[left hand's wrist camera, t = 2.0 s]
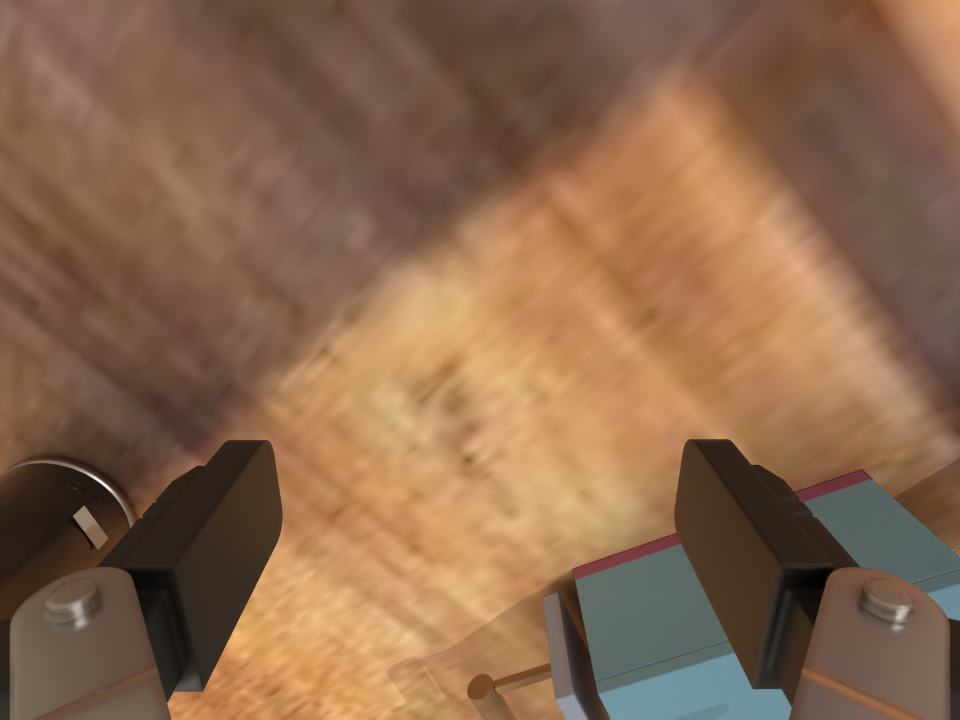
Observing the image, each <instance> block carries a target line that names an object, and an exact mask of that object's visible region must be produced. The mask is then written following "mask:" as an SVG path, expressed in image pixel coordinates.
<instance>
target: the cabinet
mask: <svg viewBox="0 0 960 720" xmlns="http://www.w3.org/2000/svg"><path fill="white" fill-rule="evenodd" d="M795 494H796V495H797V496H798V497H799V498H800V499H799V500H800V502H803V503H804V504H805V505H806V506H807V507H808V508H809V509H810V511H811V512H812V513H813V517H817V518H818V520H819V521H820V522H821V523H822V524H823V525H824V526H825V527H826V529H827V530H828V531H829V532H830V533H831V534H832V535H833V537H834V538H835V539H836V540H837V541H838V542H839V543H840V544H841V546H842V547H843V548H844V549H845V550H846V551H847V552H848V554H849V555H850V556H851V557H852V558H853V559H854V560H855V561H856V563H857V564H858V565H859V566H860V567H863V568H870V569H874V570H879V571H882V572H885V573H889V574H891V575H894V576H896V577H899V578H901V579H903V580H905V581H907V582H909V583H911V584H912V585H914V586H916V587H917V588H919V589H920V590H922V591H923V592H925V593H926V594H927V595H929V596H930V597H931V598H932V599H933V600H934V601H935V602H936V603H937V604H938V605H939V606H940V607H941V608H942V610H943V611H944V612H945V614H946V616H947V618H950V619H954V620H959V621H960V557H959V556H958V555H957V554H955V553H954V552H953V551H952V550H951V549H950V548H949V547H948V546H946V545H945V544H944V543H943V542H942V541H941V540H940V539H939V538H938V537H936V536H935V535H934V534H933V533H932V532H931V531H930V530H929V529H927V528H926V527H925V526H924V525H923V524H922V523H921V522H920V521H919V520H917V519H916V518H915V517H914V516H913V515H912V514H911V513H910V512H908V511H907V510H906V509H905V508H904V507H903V506H902V505H901V504H899V503H898V502H897V501H896V500H895V499H894V498H893V497H892V496H891V495H889V494H888V493H887V492H886V491H885V490H884V489H883V488H882V487H880V486H879V485H878V484H877V483H876V482H875V481H874V480H873V478H871V477H870V476H869V475H868V474H867V473H866V472H865V471H864V470H859V471H856V472H853V473H850V474H848V475H845V476H842V477H839V478H836V479H833V480H830V481H827V482H824V483H821V484H818V485H816V486H813V487H810V488H807V489H804V490H801V491H798V492H795ZM573 574H574V579H575V582H576V587H577V592H578V597H579V602H580V607H581V612H582V617H583V622H584V627H585V631H586V636H587V641H588V646H589V651H590V656H591V661H592V666H593V671H594V676H595V681H596V686H597V691H598V695H599V697H600V699H601V701H602V703H603V704H604V706H605V708H606V710H607V712H608V714H609V716H610V718H611V720H789V716H790V712H791V709H792V707H791V705H790V704H789V702H788V700H787V698H786V696H785V694H784V693H783V691H782V689H752V687H751V685H750V683H749V681H748V679H747V677H746V675H745V673H744V671H743V669H742V667H741V665H740V663H739V661H738V658H737V656H736V654H735V652H734V650H733V648H732V646H731V644H730V642H729V640H728V638H727V636H726V634H725V632H724V630H723V628H722V626H721V624H720V622H719V620H718V618H717V616H716V614H715V612H714V610H713V608H712V606H711V604H710V602H709V600H708V598H707V596H706V594H705V592H704V590H703V588H702V586H701V583H700V581H699V579H698V577H697V575H696V573H695V571H694V569H693V567H692V565H691V563H690V561H689V559H688V557H687V555H686V553H685V551H684V549H683V547H682V545H681V543H680V541H679V538H678V535H677V533H676V534H673V535H670V536H668V537H665V538H662V539H659V540H656V541H653V542H650V543H647V544H644V545H641V546H638V547H636V548H633V549H630V550H627V551H624V552H621V553H618V554H615V555H612V556H609V557H607V558H604V559H601V560H598V561H595V562H592V563H589V564H586V565H583V566H580V567H578V568H575V569H573Z"/></svg>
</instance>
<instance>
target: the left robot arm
mask: <svg viewBox="0 0 960 720" xmlns="http://www.w3.org/2000/svg"><path fill="white" fill-rule="evenodd" d="M799 499H800V498H799V497H798V496H797V495H796V494H795V492H794V491H793V490H792V489H791V488H790V487H789V486H788V484H787V483H786V482H785V481H784V480H783V479H781V478H779V477H778V476H776V475H775V474H773V473H771V472H770V471H768V470H767V469H765V468H763V467H762V466H760V465H751V464H750V463H749V462H748V460H747V459H746V458H745V457H744V456H743V454H742V453H741V452H740V451H739V450H738V448H737V447H736V446H735V445H734V443H733V442H732V441H730V440H728V439H690V440H688V441H687V442H686V443H685V446H684V449H683V455H682V462H681V469H680V476H679V482H678V489H677V496H676V503H675V526H676V531H677V535H678V538H679V541H680V543H681V545H682V547H683V549H684V551H685V553H686V555H687V557H688V559H689V561H690V563H691V565H692V567H693V569H694V571H695V573H696V575H697V577H698V579H699V581H700V583H701V586H702V588H703V590H704V592H705V594H706V596H707V598H708V600H709V602H710V604H711V606H712V608H713V610H714V612H715V614H716V616H717V618H718V620H719V622H720V624H721V626H722V628H723V630H724V632H725V634H726V636H727V638H728V640H729V642H730V644H731V646H732V648H733V650H734V652H735V654H736V656H737V658H738V661H739V663H740V665H741V667H742V669H743V671H744V673H745V675H746V677H747V679H748V681H749V683H750V685H751V687H752V689H782V691H783V693H784V694H785V696H786V698H787V700H788V702H789V704H790V705H791V707H792V709H791V712H790V716H789V720H960V621H959V620H954V619H950V618H947V616H946V614H945V612H944V611H943V610H942V608H941V607H940V606H939V605H938V604H937V603H936V602H935V601H934V600H933V599H932V598H931V597H930V596H929V595H927V594H926V593H925V592H923V591H922V590H920V589H919V588H917V587H916V586H914V585H912V584H911V583H909V582H907V581H905V580H903V579H901V578H899V577H896V576H894V575H891V574H889V573H885V572H882V571H879V570H874V569H870V568H863V567H860V566H859V565H858V564H857V563H856V561H855V560H854V559H853V558H852V557H851V556H850V555H849V554H848V552H847V551H846V550H845V549H844V548H843V547H842V546H841V544H840V543H839V542H838V541H837V540H836V539H835V538H834V537H833V535H832V534H831V533H830V532H829V531H828V530H827V529H826V527H825V526H824V525H823V524H822V523H821V522H820V521H819V520H818V518H817V517H813V513H812V512H811V511H810V509H809V508H808V507H807V506H806V505H805V504H804V503H803V502H800V500H799ZM281 527H282V504H281V497H280V490H279V484H278V477H277V470H276V463H275V457H274V451H273V447H272V445H271V443H270V442H269V441H267V440H228V441H226V442H225V443H224V444H223V445H222V446H221V447H220V449H219V450H218V451H217V452H216V453H215V455H214V456H213V457H212V458H211V459H210V461H209V462H208V463H207V464H206V465H205V466H196V467H195V468H193V469H192V470H190V471H188V472H187V473H185V474H184V475H182V476H180V477H179V478H177V479H175V480H174V481H172V482H171V484H170V485H169V486H168V487H167V488H166V489H165V490H164V491H163V493H162V494H161V495H160V496H159V497H158V498H157V499H156V503H153V504H152V505H151V506H150V507H149V508H148V509H147V511H146V512H145V513H144V514H143V518H139V519H138V521H137V519H136V515H135V512H134V509H133V507H132V505H131V503H130V501H129V499H128V498H127V496H126V495H125V494H124V492H123V491H122V490H121V489H120V488H119V487H118V486H117V485H116V484H115V483H114V482H113V481H112V480H111V479H110V478H108V477H107V476H106V475H104V474H103V473H101V472H100V471H98V470H96V469H95V468H93V467H91V466H89V465H86V464H84V463H82V462H79V461H76V460H72V459H68V458H63V457H54V456H43V457H35V458H30V459H27V460H24V461H22V462H20V463H18V464H16V465H14V466H13V467H12V468H10V469H9V470H7V471H6V472H4V473H3V474H2V475H1V476H0V720H171V716H170V712H169V709H168V705H167V703H168V701H169V699H170V697H171V695H172V693H173V692H174V691H203V690H204V688H205V686H206V684H207V682H208V680H209V678H210V676H211V674H212V672H213V670H214V668H215V666H216V664H217V662H218V660H219V658H220V656H221V654H222V652H223V650H224V648H225V646H226V644H227V642H228V640H229V638H230V636H231V634H232V632H233V630H234V628H235V626H236V624H237V622H238V620H239V618H240V616H241V614H242V612H243V610H244V608H245V606H246V604H247V602H248V600H249V598H250V596H251V594H252V592H253V590H254V588H255V586H256V584H257V582H258V580H259V578H260V576H261V574H262V572H263V570H264V568H265V566H266V564H267V562H268V560H269V558H270V556H271V554H272V552H273V550H274V548H275V546H276V544H277V542H278V539H279V536H280V532H281Z"/></svg>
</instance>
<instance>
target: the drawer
mask: <svg viewBox="0 0 960 720" xmlns="http://www.w3.org/2000/svg"><path fill="white" fill-rule="evenodd" d="M543 606H544V614H545V622H546V631H547V639H548V647H549V655H550V663H548V664H545V665H542V666H539V667H536V668H533V669H530V670H527V671H523V672H520V673H517V674H514V675H511V676H508V677H505V678H501V679H498V680H495V681H493V680H492V678H491V677H490V676H489V675H487V674H481V675H478V676H476V677H475V678H474V679H473V680H472V681H471V682H470V684H469V686H468V689H467V693H468V697H469V698H470V700H471V701H472V703H473V704H474V706H475V708H476V709H477V711H478V712H479V714H480V715H481V717H482V719H483V720H517V719H516V717H515V716H514V714H513V713H512V711H511V709H510V708H509V706H508V704H507V703H506V701H505V699H504V698H503V696H502V694H501V693H505V692H508V691H511V690H514V689H517V688H520V687H524V686H527V685H530V684H533V683H536V682H540V681H543V680H546V679H549V678H552V679H553V687H554V695H555V701H556V703H557V704H558V706H559V708H560V710H561V711H562V713H563V715H564V717H565V719H566V720H610V716H609V714H608V712H607V710H606V708H605V706H604V704H603V703H602V701H601V699H600V697H599V695H598V691H597V686H596V681H595V676H594V671H593V666H592V661H591V656H590V654H589V652H588V650H587V648H586V646H585V644H584V642H583V640H582V639H581V637H580V635H579V633H578V631H577V629H576V627H575V625H574V623H573V621H572V619H571V617H570V615H569V613H568V611H567V609H566V607H565V605H564V603H563V601H562V599H561V598H560V596H559V594H558V592H556V593H553V594H550V595H547V596H544V597H543Z"/></svg>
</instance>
